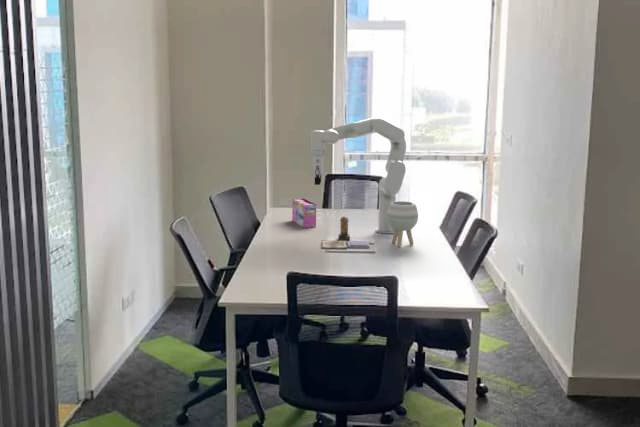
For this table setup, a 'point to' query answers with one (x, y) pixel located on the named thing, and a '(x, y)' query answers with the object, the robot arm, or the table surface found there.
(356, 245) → the ink pad
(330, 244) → the marked board
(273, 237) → the table surface
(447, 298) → the table surface
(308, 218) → the gum box
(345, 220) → the stamp
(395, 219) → the planter
